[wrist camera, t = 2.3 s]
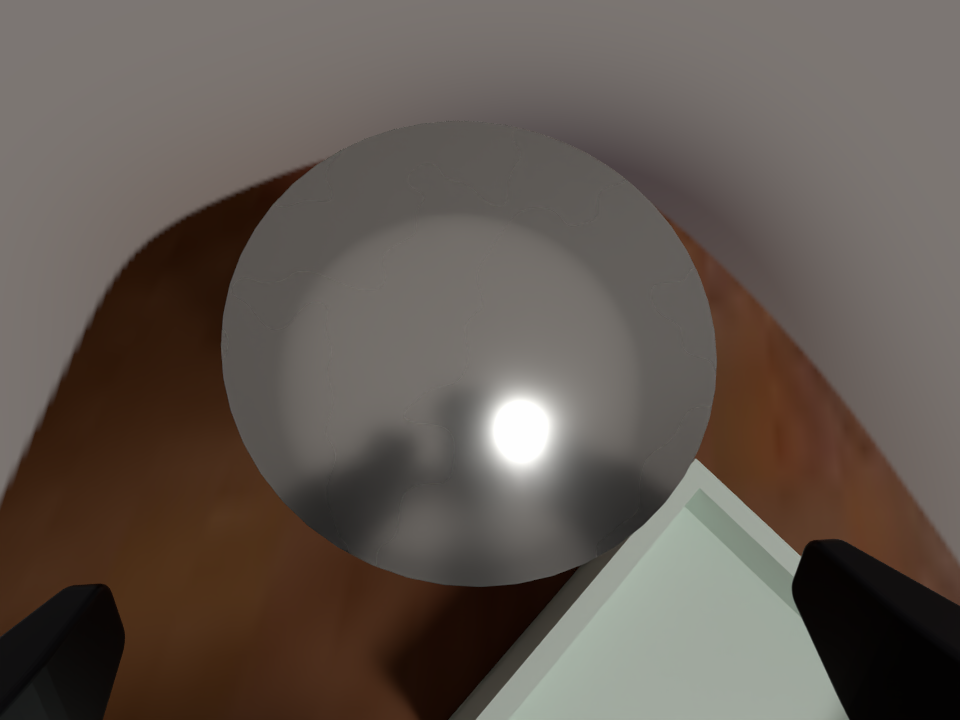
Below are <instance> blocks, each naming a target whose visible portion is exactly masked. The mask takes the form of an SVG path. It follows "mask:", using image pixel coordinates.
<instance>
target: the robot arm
mask: <svg viewBox="0 0 960 720" xmlns="http://www.w3.org/2000/svg"><path fill="white" fill-rule="evenodd" d="M792 596H793V600H794V603H795V605H796V607H797V609H798V612H799V614H800V616H801V618H802V620H803V622H804V625H805V627H806V629H807V631H808V633H809V636H810V638H811V640H812V642H813V644H814V646H815V649H816V651H817V653H818V655H819V657H820V660H821V662H822V664H823V666H824V668H825V670H826V673H827V675H828V677H829V679H830V681H831V684H832V686H833V688H834V690H835V692H836V694H837V696H838V698H839V701H840V703H841V705H842V707H843V709H844V711H845V713H846V715H847V717H848V718H849V720H960V606H959V605H957V604H955V603H954V602H952V601H950V600H948V599H946V598H945V597H943V596H941V595H939V594H938V593H936V592H934V591H932V590H930V589H929V588H927V587H925V586H923V585H922V584H920V583H918V582H916V581H914V580H913V579H911V578H909V577H907V576H906V575H904V574H902V573H900V572H898V571H897V570H895V569H893V568H891V567H890V566H888V565H886V564H884V563H882V562H881V561H879V560H877V559H875V558H874V557H872V556H870V555H868V554H866V553H865V552H863V551H861V550H859V549H857V548H856V547H854V546H852V545H850V544H849V543H847V542H845V541H843V540H839V539H826V540H813V541H810V542H809V543H808V544H807V545H806V546H805V548H804V551H803V553H802V556H801V559H800V562H799V564H798V567H797V570H796V573H795V575H794V578H793V581H792ZM124 643H125V632H124V627H123V624H122V621H121V618H120V615H119V613H118V610H117V607H116V604H115V601H114V598H113V595H112V592H111V590H110V588H109V587H108V586H106V585H105V584H87V585H73V586H69V587H67V588H65V589H63V590H62V591H60V592H59V593H57V594H56V595H55V596H53V597H52V598H51V599H50V600H48V601H47V602H46V603H44V604H43V605H42V606H40V607H39V608H38V609H36V610H35V611H34V612H32V613H31V614H30V615H29V616H27V617H26V618H25V619H23V620H22V621H21V622H19V623H18V624H17V625H15V626H14V627H13V628H11V629H10V630H9V631H8V632H6V633H5V634H4V635H2V636H1V637H0V720H103V717H104V713H105V710H106V707H107V703H108V700H109V697H110V693H111V690H112V687H113V683H114V680H115V677H116V673H117V670H118V667H119V663H120V660H121V657H122V653H123V649H124Z"/></svg>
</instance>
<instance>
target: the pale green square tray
mask: <svg viewBox="0 0 960 720" xmlns="http://www.w3.org/2000/svg"><path fill="white" fill-rule="evenodd" d="M800 559H801V556H800V555H799V554H798V553H796V552H795V551H794V550H793V549H792V548H791V547H790V546H789V545H788V544H787V543H786V542H785V541H784V540H783V539H782V538H780V537H779V536H778V535H777V534H776V533H775V532H774V531H773V530H772V529H771V528H770V527H769V526H768V525H767V524H765V523H764V522H763V521H762V520H761V519H760V518H759V517H758V516H757V515H756V514H755V513H754V512H753V511H752V510H751V509H749V508H748V507H747V506H746V505H745V504H744V503H743V502H742V501H741V500H740V499H739V498H738V497H737V496H736V495H734V494H733V493H732V492H731V491H730V490H729V489H728V488H727V487H726V486H725V485H724V484H723V483H722V482H721V481H720V480H718V479H717V478H716V477H715V476H714V475H713V474H712V473H711V472H710V471H709V470H708V469H707V468H706V467H705V466H703V465H702V464H701V463H700V462H699V461H698V460H697V459H693V461H692V463H691V465H690V467H689V468H688V470H687V472H686V474H685V476H684V478H683V479H682V480H681V482H680V483H679V484H678V486H677V487H676V489H675V490H674V491H673V493H672V494H671V496H670V497H669V498H668V500H667V501H666V502H665V503H664V504H663V505H662V507H661V508H660V509H659V510H658V511H657V512H656V513H655V514H654V515H653V516H652V517H651V518H650V519H649V520H648V521H647V522H646V523H645V524H644V525H643V526H642V527H641V528H639V529H638V530H637V531H635V532H634V533H633V534H631V535H630V536H629V537H628V538H626V539H625V540H624V541H622V542H621V543H620V544H618V545H617V546H616V547H614V548H612V549H610V550H609V551H607V552H605V553H603V554H601V555H600V556H598V557H596V558H594V559H592V560H591V561H589V562H587V563H585V564H583V565H581V566H580V567H579V568H578V569H577V571H576V572H575V573H574V574H573V575H572V576H571V578H570V579H569V580H568V581H567V582H566V583H565V585H564V586H563V587H562V588H561V589H560V590H559V592H558V593H557V594H556V595H555V596H554V597H553V599H552V600H551V601H550V602H549V603H548V604H547V606H546V607H545V608H544V609H543V610H542V611H541V612H540V614H539V615H538V616H537V617H536V618H535V619H534V621H533V622H532V623H531V624H530V625H529V626H528V628H527V629H526V630H525V631H524V632H523V633H522V635H521V636H520V637H519V638H518V639H517V640H516V642H515V643H514V644H513V645H512V646H511V647H510V649H509V650H508V651H507V652H506V653H505V654H504V655H503V657H502V658H501V659H500V660H499V661H498V662H497V664H496V665H495V666H494V667H493V668H492V669H491V671H490V672H489V673H488V674H487V675H486V676H485V678H484V679H483V680H482V681H481V682H480V683H479V685H478V686H477V687H476V688H475V689H474V690H473V692H472V693H471V694H470V695H469V696H468V697H467V699H466V700H465V701H464V702H463V703H462V704H461V705H460V707H459V708H458V709H457V710H456V711H455V712H454V714H453V715H452V716H451V717H450V718H449V719H448V720H849V718H848V717H847V715H846V713H845V711H844V709H843V707H842V705H841V703H840V701H839V698H838V696H837V694H836V692H835V690H834V688H833V686H832V684H831V681H830V679H829V677H828V675H827V673H826V670H825V668H824V666H823V664H822V662H821V660H820V657H819V655H818V653H817V651H816V649H815V646H814V644H813V642H812V640H811V638H810V636H809V633H808V631H807V629H806V627H805V625H804V622H803V620H802V618H801V616H800V614H799V612H798V609H797V607H796V605H795V603H794V600H793V596H792V581H793V578H794V575H795V573H796V570H797V567H798V564H799V562H800Z"/></svg>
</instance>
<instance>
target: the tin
mask: <svg viewBox="0 0 960 720" xmlns="http://www.w3.org/2000/svg"><path fill="white" fill-rule="evenodd" d="M221 353H222V366H223V379H224V383H225V388H226V392H227V396H228V401H229V405H230V410H231V413H232V415H233V418H234V420H235V423H236V425H237V428H238V431H239V433H240V436H241V438H242V441H243V443H244V445H245V447H246V448H247V450H248V452H249V454H250V455H251V457H252V459H253V461H254V463H255V464H256V466H257V468H258V470H259V471H260V473H261V474H262V476H263V477H264V478H265V479H266V481H267V482H268V483H269V485H270V486H271V487H272V488H273V490H274V491H275V492H276V494H277V495H278V496H279V497H280V499H281V500H282V501H283V502H284V503H285V504H286V505H287V506H288V507H289V508H290V509H291V510H292V511H293V512H294V513H295V514H296V515H297V516H299V517H300V518H301V519H302V520H303V521H304V522H305V523H306V524H307V525H308V526H309V527H311V528H312V529H313V530H315V531H316V532H318V533H319V534H320V535H322V536H323V537H324V538H326V539H327V540H329V541H330V542H331V543H333V544H334V545H336V546H337V547H338V548H340V549H342V550H344V551H346V552H348V553H350V554H352V555H354V556H356V557H358V558H359V559H361V560H363V561H365V562H367V563H369V564H371V565H374V566H376V567H379V568H382V569H385V570H388V571H391V572H393V573H396V574H399V575H402V576H405V577H408V578H413V579H418V580H423V581H428V582H433V583H438V584H443V585H457V586H474V587H486V586H498V585H511V584H519V583H524V582H528V581H533V580H537V579H541V578H546V577H550V576H554V575H556V574H559V573H562V572H564V571H567V570H569V569H572V568H575V567H577V566H580V565H583V564H585V563H587V562H589V561H591V560H592V559H594V558H596V557H598V556H600V555H601V554H603V553H605V552H607V551H609V550H610V549H612V548H614V547H616V546H617V545H618V544H620V543H621V542H622V541H624V540H625V539H626V538H628V537H629V536H630V535H631V534H633V533H634V532H635V531H637V530H638V529H639V528H641V527H642V526H643V525H644V524H645V523H646V522H647V521H648V520H649V519H650V518H651V517H652V516H653V515H654V514H655V513H656V512H657V511H658V510H659V509H660V508H661V507H662V505H663V504H664V503H665V502H666V501H667V500H668V498H669V497H670V496H671V494H672V493H673V491H674V490H675V489H676V487H677V486H678V484H679V483H680V482H681V480H682V479H683V478H684V476H685V474H686V472H687V470H688V468H689V467H690V465H691V463H692V461H693V459H694V457H695V455H696V453H697V451H698V449H699V447H700V444H701V441H702V438H703V435H704V433H705V430H706V427H707V424H708V421H709V417H710V412H711V407H712V402H713V397H714V392H715V381H716V364H717V358H716V345H715V331H714V327H713V322H712V317H711V312H710V307H709V303H708V300H707V297H706V294H705V291H704V288H703V285H702V283H701V280H700V277H699V274H698V272H697V270H696V268H695V266H694V264H693V262H692V260H691V258H690V256H689V254H688V252H687V250H686V248H685V247H684V245H683V244H682V242H681V241H680V239H679V238H678V236H677V235H676V233H675V232H674V230H673V228H672V227H671V226H670V224H669V223H668V222H667V221H666V220H665V218H664V217H663V216H662V215H661V214H660V212H659V211H658V210H657V209H656V207H655V206H654V205H653V204H652V203H651V202H650V201H649V200H648V199H647V198H646V197H645V196H644V195H643V194H642V193H641V192H640V191H639V190H637V189H636V188H635V187H634V186H633V185H632V184H631V183H629V182H628V181H627V180H626V179H624V178H623V177H622V176H621V175H619V174H618V173H617V172H615V171H614V170H613V169H611V168H610V167H608V166H607V165H605V164H603V163H602V162H600V161H599V160H597V159H595V158H594V157H592V156H590V155H589V154H587V153H585V152H583V151H581V150H579V149H577V148H574V147H573V146H570V145H568V144H566V143H564V142H562V141H559V140H557V139H554V138H551V137H548V136H545V135H542V134H539V133H537V132H534V131H529V130H525V129H521V128H517V127H512V126H508V125H501V124H493V123H485V122H468V121H464V122H463V121H446V122H436V123H425V124H419V125H414V126H409V127H404V128H399V129H394V130H391V131H388V132H385V133H382V134H379V135H376V136H373V137H369V138H367V139H364V140H362V141H360V142H358V143H356V144H353V145H351V146H349V147H347V148H345V149H343V150H340V151H339V152H337V153H335V154H334V155H332V156H331V157H329V158H327V159H326V160H324V161H322V162H321V163H319V164H318V165H316V166H315V167H313V168H312V169H311V170H310V171H308V172H307V173H306V174H305V175H303V176H302V177H301V178H300V179H298V180H297V181H296V182H295V183H293V184H292V185H291V186H290V187H289V189H288V190H287V191H286V192H285V193H284V194H283V195H282V196H281V197H280V198H279V199H278V200H277V201H276V202H275V203H274V204H273V205H272V206H271V208H270V209H269V211H268V212H267V213H266V215H265V216H264V217H263V219H262V220H261V221H260V223H259V224H258V226H257V227H256V228H255V230H254V232H253V233H252V235H251V237H250V239H249V241H248V243H247V244H246V246H245V248H244V250H243V252H242V254H241V256H240V258H239V261H238V264H237V266H236V269H235V272H234V274H233V277H232V280H231V282H230V286H229V290H228V295H227V299H226V304H225V308H224V313H223V324H222V338H221Z"/></svg>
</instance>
